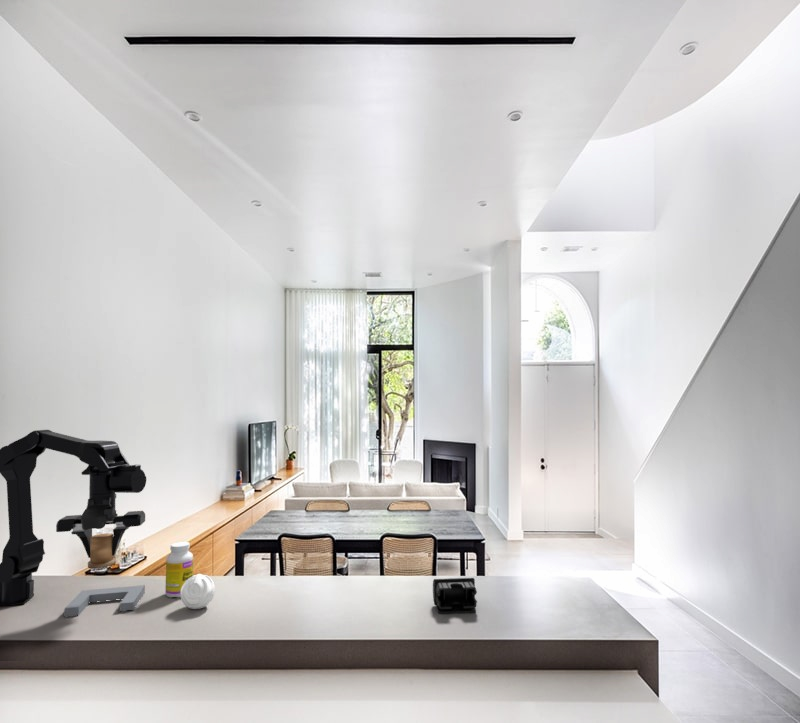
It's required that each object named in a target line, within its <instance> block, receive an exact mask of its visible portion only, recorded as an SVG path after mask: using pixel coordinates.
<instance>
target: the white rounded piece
mask: <svg viewBox="0 0 800 723" xmlns="http://www.w3.org/2000/svg"><path fill="white" fill-rule="evenodd" d="M214 595H215V582H214V581H213V579H212V578H211V577H210V576H209V575H207V574H202V573H197V574H193V576H192V577H190V578H189V579H187V580H186V581H185V583H184V584H183V585H182V587H181V591H180V597H179V598H180V600H181V602H182V603H183V605H184V606H185V607H187V608H188V609H192V610H200V609H202V608H205V607H206V606H207V605H208V604H210V603H211V602H212V601H213V598H214Z"/></svg>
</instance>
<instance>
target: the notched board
mask: <svg viewBox="0 0 800 723" xmlns="http://www.w3.org/2000/svg"><path fill="white" fill-rule="evenodd" d="M145 589H146V585H145V584H144V585H143V584H142V585H132V586H131V585H129V586H122V587H121V586H118V587H117V586H116V587H105V588H94V589H85V590H83V589H82V590H81V591H80V592H79V593H78V594H76V596H75V597H74V598H73V599H72V600H71V601H70V602H69V603H68V604H67V605H66V606H65V607H64V610H63V611H64V613H63V614H64V618H68V617H67V616H70V617H78V616H77V615H79V616H80V614H82V612H83V611H84V610H85V609H86V608H85V607H86V606H87V607H88V606H89V604H90V603H89V602H96V603H98V602H97V601H106V600H116V599H123V600H120V603H119V612H120V611H123V612H127V611H126V610H133V611H134V610H135V609H136V607H137V606H138V604H139V603H138V602H140V601H141V600H142V598H143V597H144V595H145V593H146V592H145V591H146V590H145ZM143 594H144V595H143ZM141 597H142V598H141ZM139 600H140V601H139ZM88 603H89V604H88ZM137 603H138V604H137ZM136 605H137V606H136ZM135 606H136V607H135ZM84 608H85V609H84ZM134 608H135V609H134ZM83 609H84V610H83Z"/></svg>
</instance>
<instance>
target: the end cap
mask: <svg viewBox="0 0 800 723" xmlns="http://www.w3.org/2000/svg"><path fill="white" fill-rule="evenodd" d="M475 584H476V581H475V578H474V577H464V578H463V577H460V578H459V577H457V578H456V577H453V578H451V577H450V578H434V579H433V580H432V597H433V598H432V599H433V605H434V606H435V608H436V610H437V613H438V615H456V614H458V615H460V614H464V615H465V614H475V613H477V609H476V607H477V603H478V600H477V599H476V595H477V593H478V591H477V588H476V586H475Z"/></svg>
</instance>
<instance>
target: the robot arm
mask: <svg viewBox="0 0 800 723" xmlns="http://www.w3.org/2000/svg"><path fill="white" fill-rule="evenodd" d="M46 449H47V450H50V451H51V450H52V451H55V452H59V453H63V454H67V455H71V456H75V457H77V458H78V459H79V461H81V462H82V463H84V464H86V465H88V466H86V468H85V469H83V470H82V471H81V472H80V473H81V475H83V476H86V475H87V476H89V488H88V490H89V496H88V499H87V505H86V509H85V510H84V511H83V512H82V514H76V515H65V516H64V517H62V518H60V519H58V521H57V522H56V525H55V526H56V529H55V532H57V533H64V532H71V535H76V536H77V537H78V538H79V539H80V541H81V543H82V544H83V548H84V550H85V552H86V555H87V558H88V559H90V537H91V536H93V529H97V530H100V529H103V528H105V526H106V525H115V527H114V528H113V529H112V531H113V532H112V534H113V546H112V556H113V557H115V555H116V553H117V551H118V548H119V546H120V543H121V541H122V538H123V535H124V534H125V532H126V530H128V529H129V528H131V527H139V526H142V525H143V523H145V522H146V512H144V510H134V511H132V510H131V511H127V512H126V513H125V514H124V515H117V510H116V499H117V493H118V494H119V493H120V494H122V493H123V494H125V493H127V494H128V493H131V494H138V493H141V492H142V491H143V490H144V489H145V487H146V484H147V476H146V473H145V472H144V470H143V469H142V468H141V464H130V463H129V462H128V460H127V458H126V457H125V455H124V454H123V453H122V451H121V450H120V447H119V444H118V443H117V442H116V441H114V440H87V439H83V438H79V437H76V436H75V437H74V436H71V435H67V434H62V433H59V432H56V431H53V430H50V429H38V430H33V431H31V432H29V433H28V434H27V435H25V436H23V437H21V438H19V439H18V440H17V439H16V440H15V441H12V442H11V443H9V444H8V445H5V446H2V447H1V448H0V475H1V476H2V478H4V480H5V482H6V493H7V495H6V496H7V497H6V498H7V512H8V514H7V515H8V531H9V534H8V535H9V538H8V540H7V542H6V544H5V546H4V548H3V550H2V557H1V558H2V559H1V563H0V607H5V606H4V605H10V606H14V605H13V604H21V605H24V603H25V602H26V601H27V602H28V601H30V599H31V598H34V596H35V593H34V591H35V589H34V587H35V586H34V584H35V580H34V579H33V573H37V572H38V570H39V568H40V565H41V563H42V561H43V559H44V555H46V552H45V548H44V545H45V544H44V542H45V541H44V539H43V538H40V539H39V538H38V536H36V535H35V534H34V524H33V507H32V505H33V504H32V489H31V476H32V475H33V473H34V471H35V469H36V467H37V461H38V460H37V458H38V457H39V456H41V455H42V454H43V453H45V451H46ZM27 602H26V603H27ZM26 603H25V604H26Z"/></svg>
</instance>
